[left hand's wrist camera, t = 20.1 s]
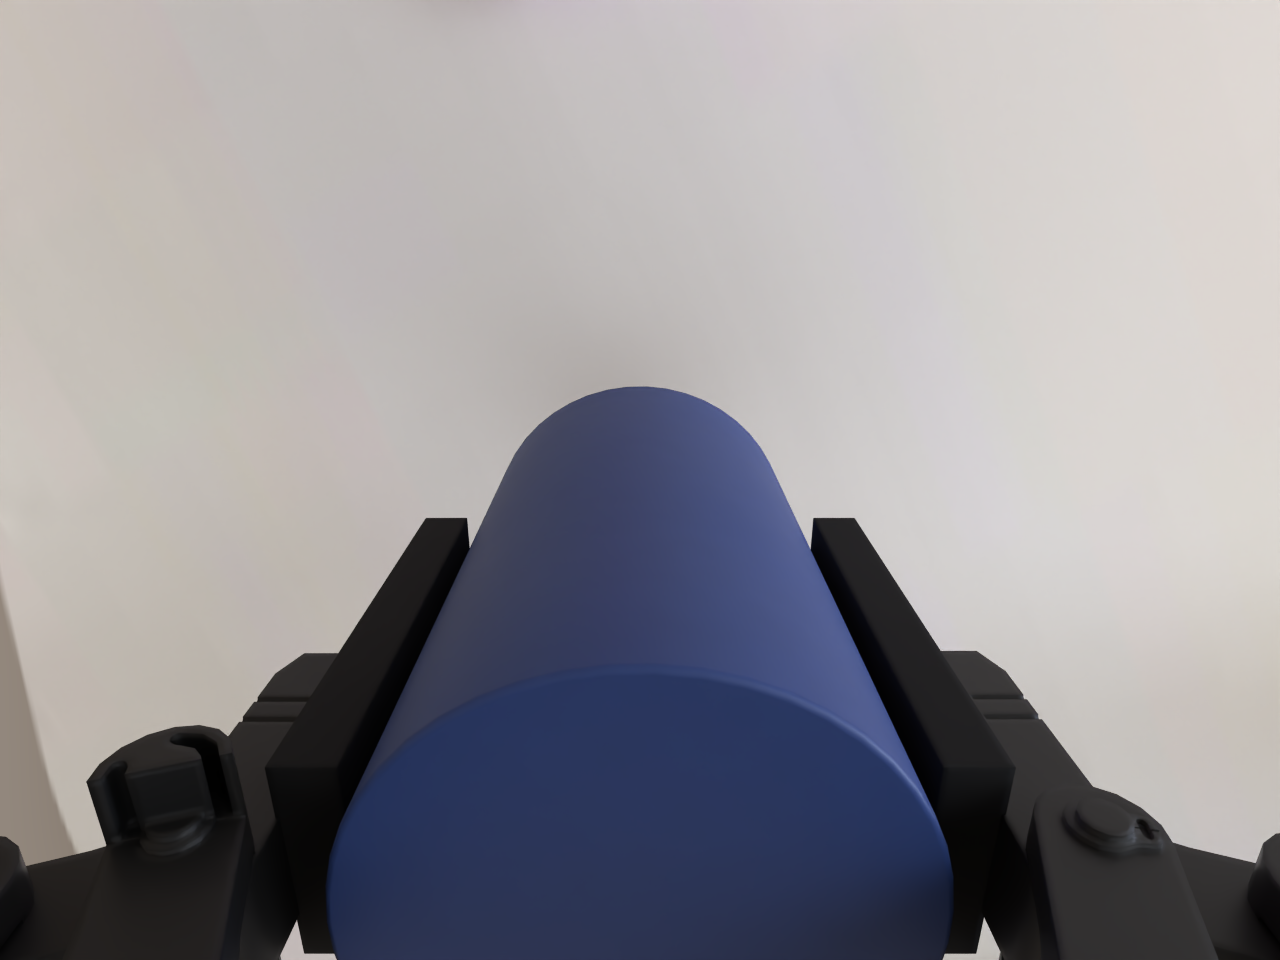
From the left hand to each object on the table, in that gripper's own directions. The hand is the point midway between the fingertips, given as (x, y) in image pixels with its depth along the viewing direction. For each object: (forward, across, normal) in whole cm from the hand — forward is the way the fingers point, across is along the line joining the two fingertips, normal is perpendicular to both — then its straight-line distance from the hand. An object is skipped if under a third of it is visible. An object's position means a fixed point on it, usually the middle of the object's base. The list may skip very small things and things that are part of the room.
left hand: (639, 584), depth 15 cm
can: (+3, 0, 0) cm, 3 cm away
